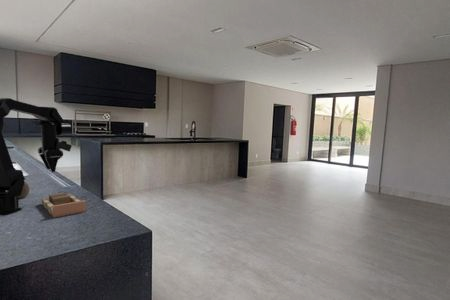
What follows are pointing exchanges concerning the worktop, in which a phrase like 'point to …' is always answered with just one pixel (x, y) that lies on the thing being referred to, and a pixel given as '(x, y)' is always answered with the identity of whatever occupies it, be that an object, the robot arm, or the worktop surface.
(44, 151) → the robot arm
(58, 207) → the end stop
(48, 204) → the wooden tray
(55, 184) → the worktop surface
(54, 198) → the keeper
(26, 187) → the vase
